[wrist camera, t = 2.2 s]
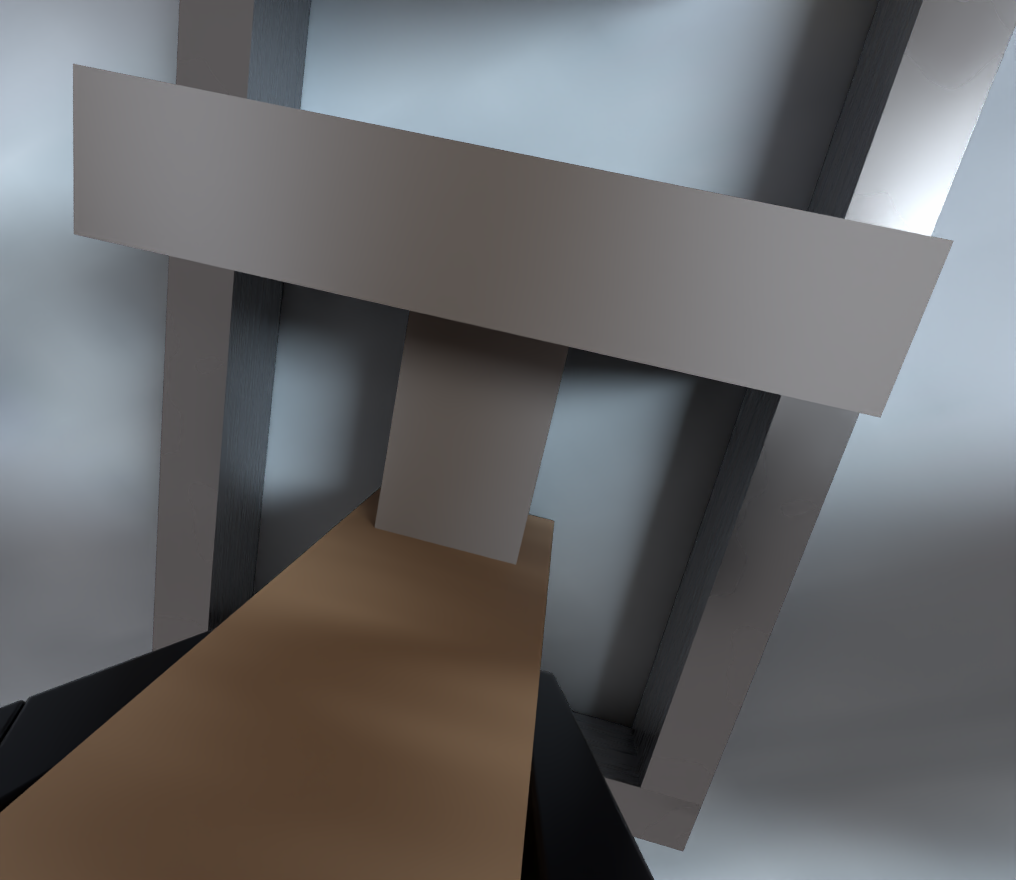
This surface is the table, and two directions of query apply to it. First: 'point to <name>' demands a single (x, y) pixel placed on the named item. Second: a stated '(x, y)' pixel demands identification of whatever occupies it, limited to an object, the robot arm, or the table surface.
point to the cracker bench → (752, 447)
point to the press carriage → (421, 470)
